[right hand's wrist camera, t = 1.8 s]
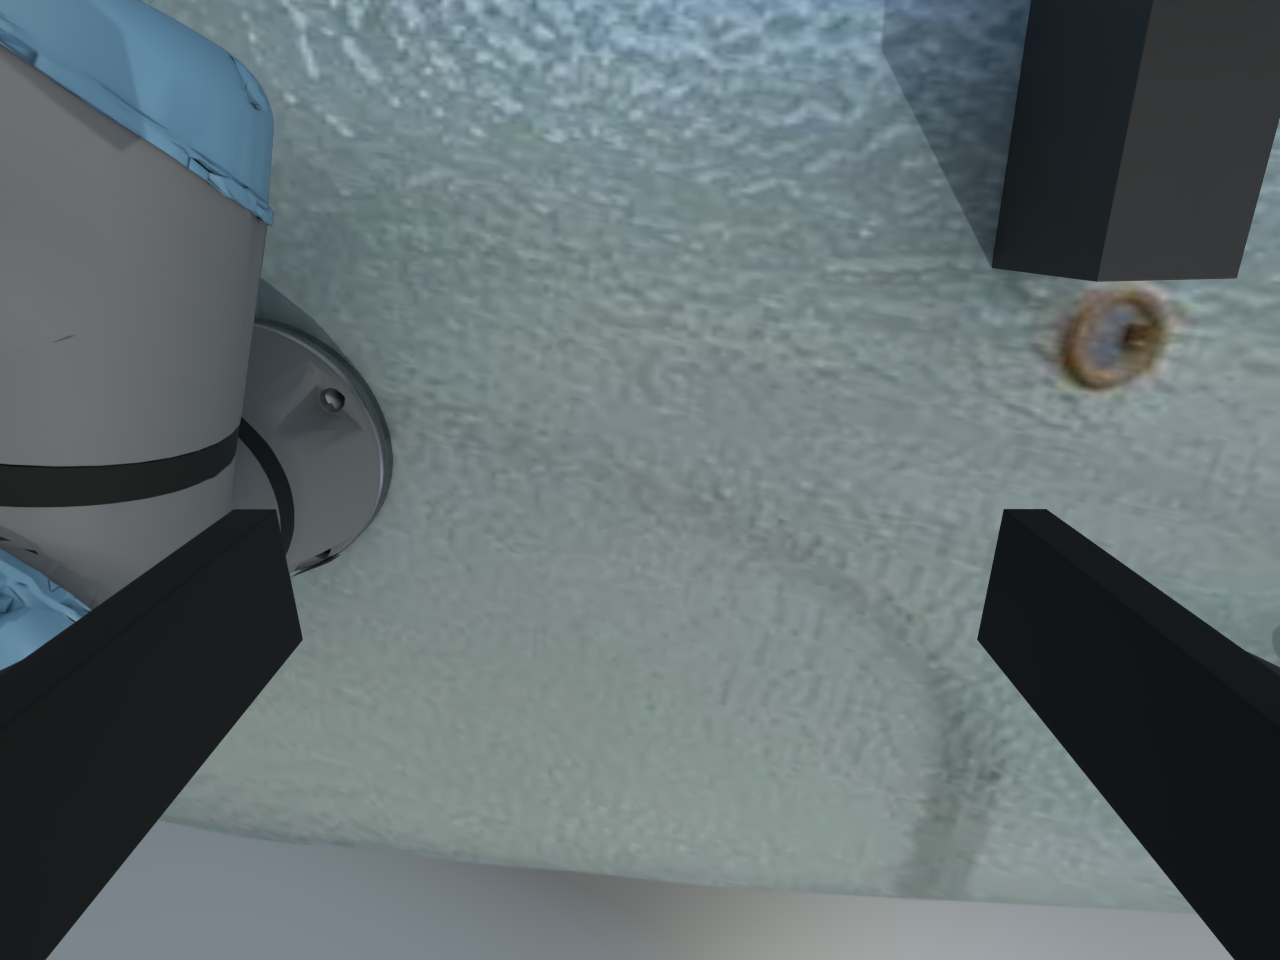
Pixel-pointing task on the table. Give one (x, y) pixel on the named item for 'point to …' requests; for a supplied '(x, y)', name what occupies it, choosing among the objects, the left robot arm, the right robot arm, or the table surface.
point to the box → (1140, 138)
